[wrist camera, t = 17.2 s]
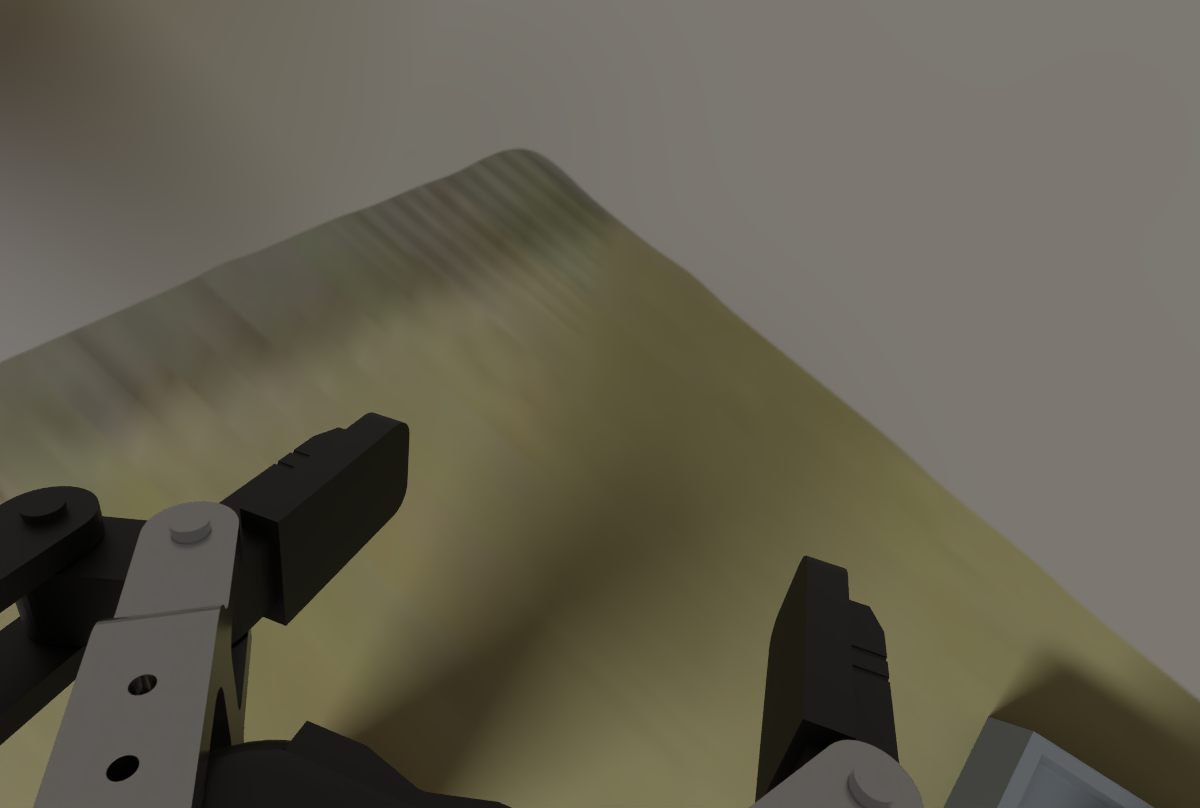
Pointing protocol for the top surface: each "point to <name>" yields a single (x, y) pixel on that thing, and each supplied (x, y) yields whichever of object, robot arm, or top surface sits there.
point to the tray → (1031, 775)
